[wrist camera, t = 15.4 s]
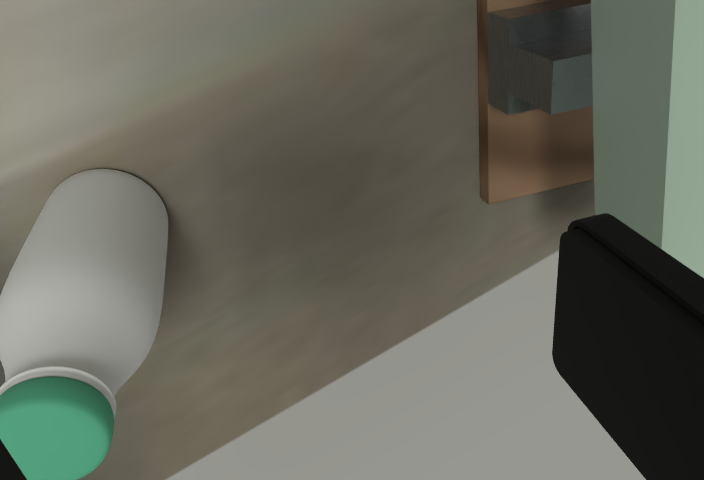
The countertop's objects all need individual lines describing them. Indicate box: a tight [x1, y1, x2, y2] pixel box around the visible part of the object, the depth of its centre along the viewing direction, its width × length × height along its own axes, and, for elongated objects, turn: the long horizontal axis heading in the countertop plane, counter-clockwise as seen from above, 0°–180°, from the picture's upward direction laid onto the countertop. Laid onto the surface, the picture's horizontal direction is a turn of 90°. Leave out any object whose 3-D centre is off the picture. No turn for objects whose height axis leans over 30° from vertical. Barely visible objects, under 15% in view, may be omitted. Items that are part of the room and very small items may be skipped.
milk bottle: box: [0, 169, 168, 480], centre depth 30 cm, size 8×8×20 cm
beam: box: [591, 0, 704, 277], centre depth 29 cm, size 22×5×6 cm, turn 15°
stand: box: [477, 0, 594, 204], centre depth 36 cm, size 22×10×10 cm, turn 8°
